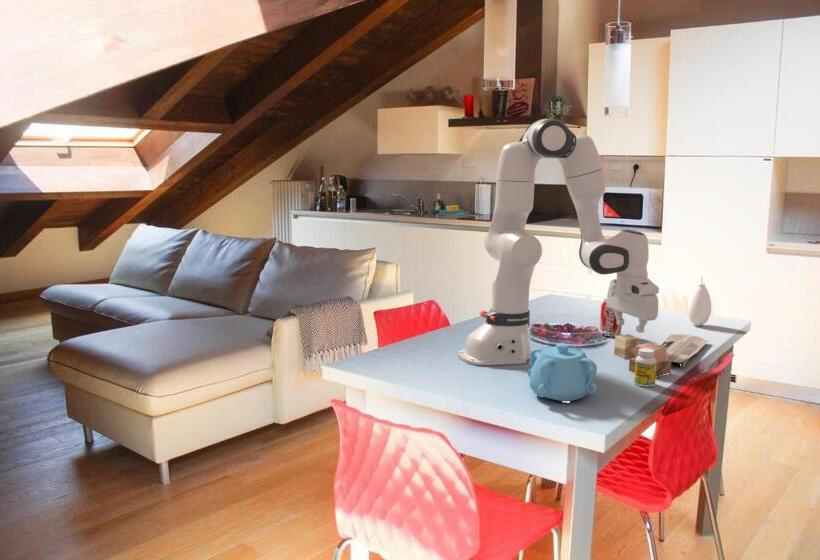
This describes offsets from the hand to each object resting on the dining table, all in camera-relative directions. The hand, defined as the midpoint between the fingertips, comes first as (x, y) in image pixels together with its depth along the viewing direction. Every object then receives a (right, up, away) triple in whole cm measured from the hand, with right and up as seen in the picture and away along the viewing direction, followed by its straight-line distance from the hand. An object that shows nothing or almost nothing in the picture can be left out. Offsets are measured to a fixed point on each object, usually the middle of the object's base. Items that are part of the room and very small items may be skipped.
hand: (630, 328), depth 215 cm
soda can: (+1, -4, +25) cm, 26 cm away
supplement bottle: (-4, -14, -25) cm, 28 cm away
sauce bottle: (+36, -2, +39) cm, 53 cm away
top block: (+1, -8, -15) cm, 17 cm away
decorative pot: (-28, -15, -33) cm, 46 cm away
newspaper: (+17, -9, +5) cm, 19 cm away
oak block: (-1, -9, +2) cm, 9 cm away
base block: (+1, -12, -14) cm, 19 cm away
